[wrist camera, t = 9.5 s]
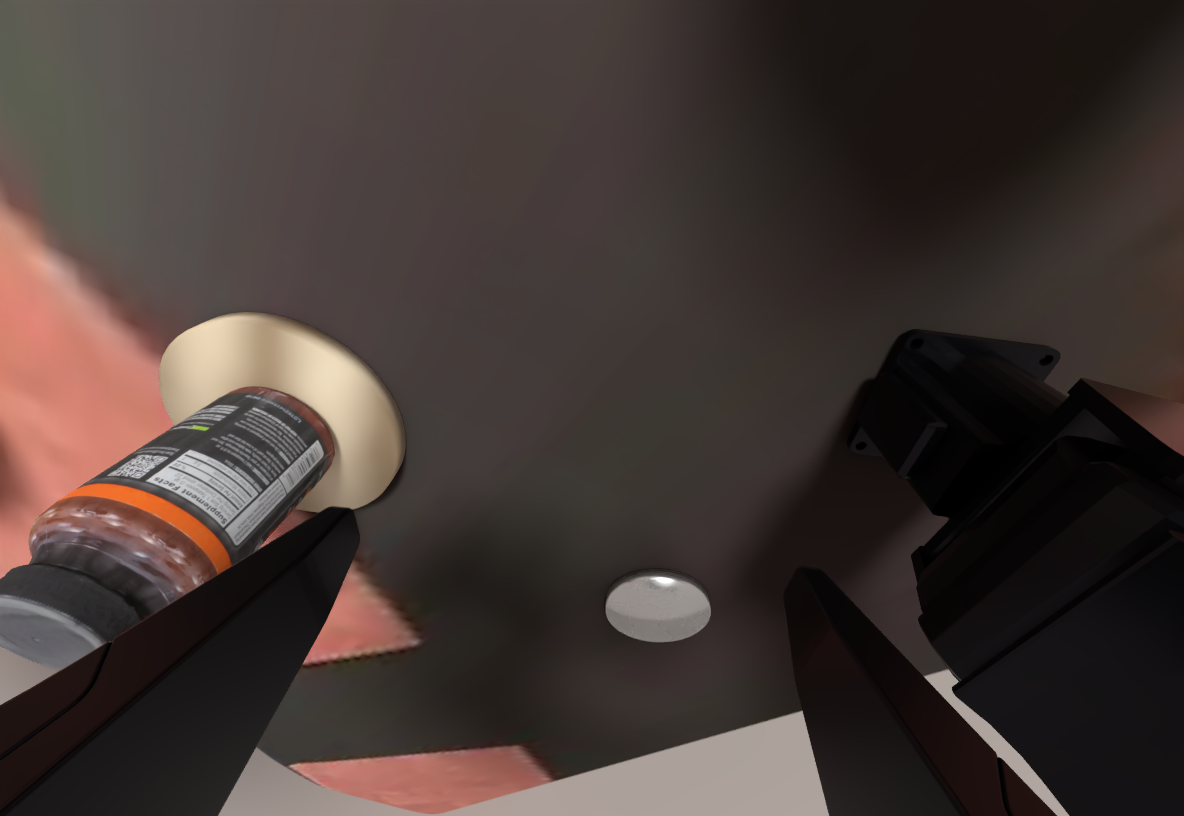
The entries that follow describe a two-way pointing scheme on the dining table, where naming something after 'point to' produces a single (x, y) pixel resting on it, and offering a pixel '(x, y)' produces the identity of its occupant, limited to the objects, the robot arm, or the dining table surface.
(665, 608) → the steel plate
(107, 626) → the supplement bottle
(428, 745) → the dining table surface
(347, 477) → the coaster
